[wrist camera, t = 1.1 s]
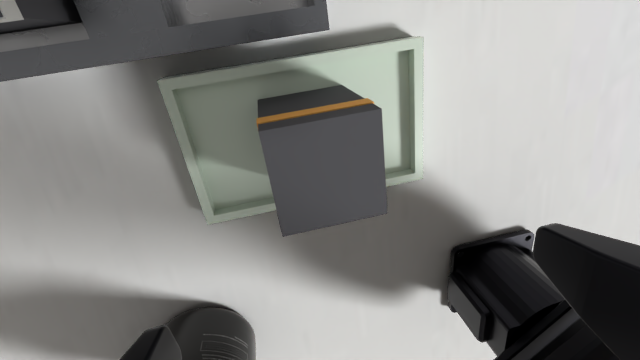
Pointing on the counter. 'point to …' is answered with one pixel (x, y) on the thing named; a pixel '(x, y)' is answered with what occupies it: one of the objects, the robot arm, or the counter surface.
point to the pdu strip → (152, 32)
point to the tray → (281, 79)
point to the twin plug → (36, 14)
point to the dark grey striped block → (323, 157)
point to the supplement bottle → (213, 335)
